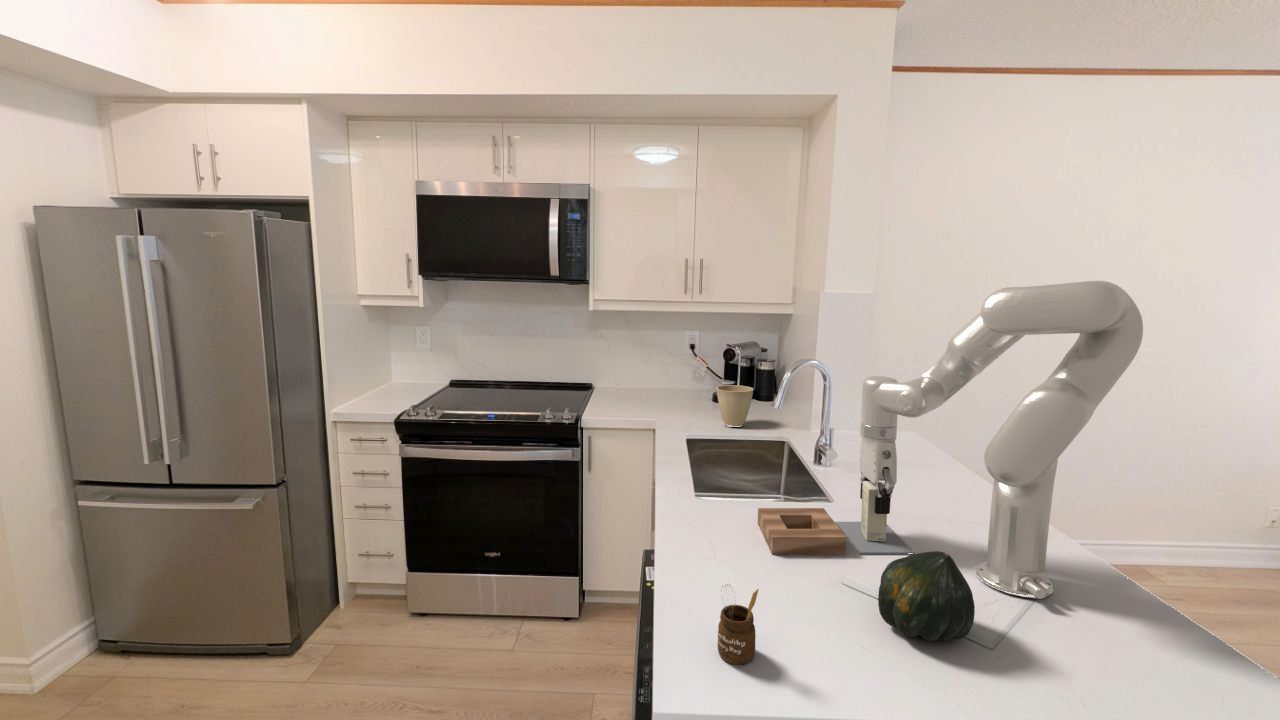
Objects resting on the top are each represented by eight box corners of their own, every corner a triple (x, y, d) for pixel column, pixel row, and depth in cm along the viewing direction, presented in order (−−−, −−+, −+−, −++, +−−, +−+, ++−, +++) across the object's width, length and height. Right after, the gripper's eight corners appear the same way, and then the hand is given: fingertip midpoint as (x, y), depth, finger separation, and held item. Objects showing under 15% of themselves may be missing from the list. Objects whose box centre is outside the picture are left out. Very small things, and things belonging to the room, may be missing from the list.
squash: (849, 578, 103) (897, 543, 93) (912, 567, 109) (964, 532, 98) (888, 662, 95) (946, 634, 84) (955, 645, 100) (1017, 617, 89)
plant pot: (752, 431, 226) (753, 392, 224) (715, 429, 228) (715, 390, 226) (752, 422, 240) (753, 385, 238) (716, 421, 243) (717, 384, 241)
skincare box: (886, 542, 128) (889, 490, 126) (866, 541, 129) (868, 489, 127) (879, 530, 134) (881, 480, 133) (859, 529, 135) (862, 479, 133)
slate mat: (914, 554, 124) (914, 552, 124) (859, 554, 124) (859, 552, 124) (884, 523, 139) (884, 521, 139) (835, 523, 140) (835, 521, 140)
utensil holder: (729, 637, 95) (730, 570, 93) (763, 653, 91) (765, 582, 90) (710, 655, 91) (711, 585, 89) (745, 672, 87) (746, 599, 85)
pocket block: (845, 554, 124) (846, 537, 123) (772, 554, 124) (772, 537, 123) (822, 523, 140) (823, 508, 139) (757, 523, 140) (758, 508, 139)
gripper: (913, 442, 119) (908, 521, 122) (879, 422, 137) (875, 492, 139) (877, 442, 120) (873, 522, 122) (848, 422, 137) (844, 492, 139)
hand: (874, 505), depth 130 cm, fingers open, 7 cm apart
